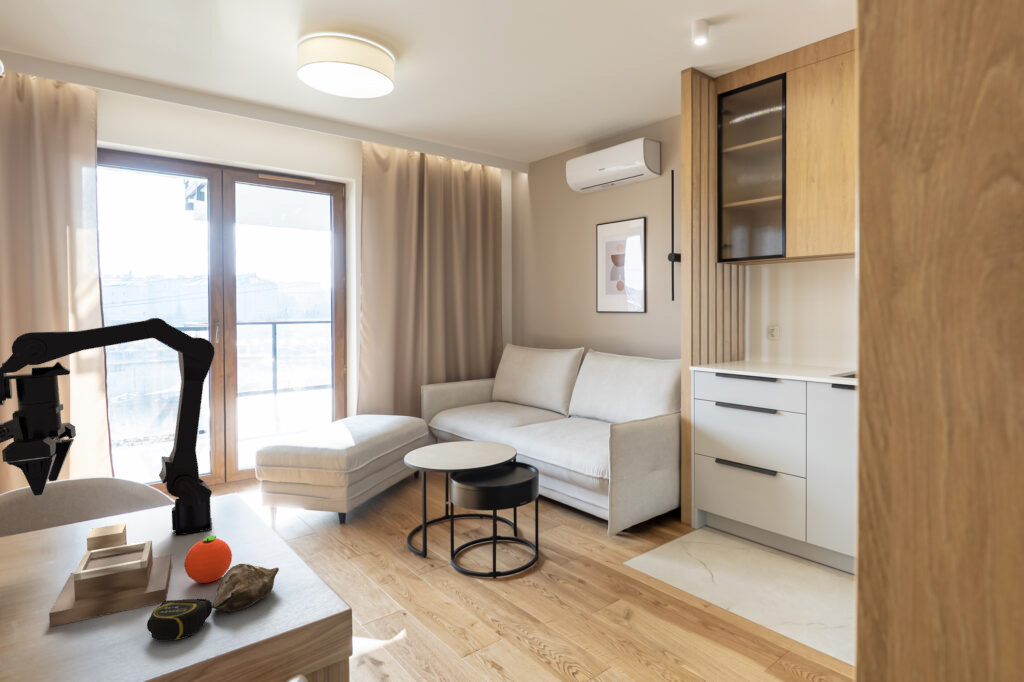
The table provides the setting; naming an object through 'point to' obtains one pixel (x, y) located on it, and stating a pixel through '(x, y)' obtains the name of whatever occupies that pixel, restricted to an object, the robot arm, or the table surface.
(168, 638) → the tape measure
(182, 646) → the table surface
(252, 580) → the fossilized seashell
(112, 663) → the table surface
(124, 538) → the maple block
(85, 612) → the tower base
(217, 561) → the clementine
